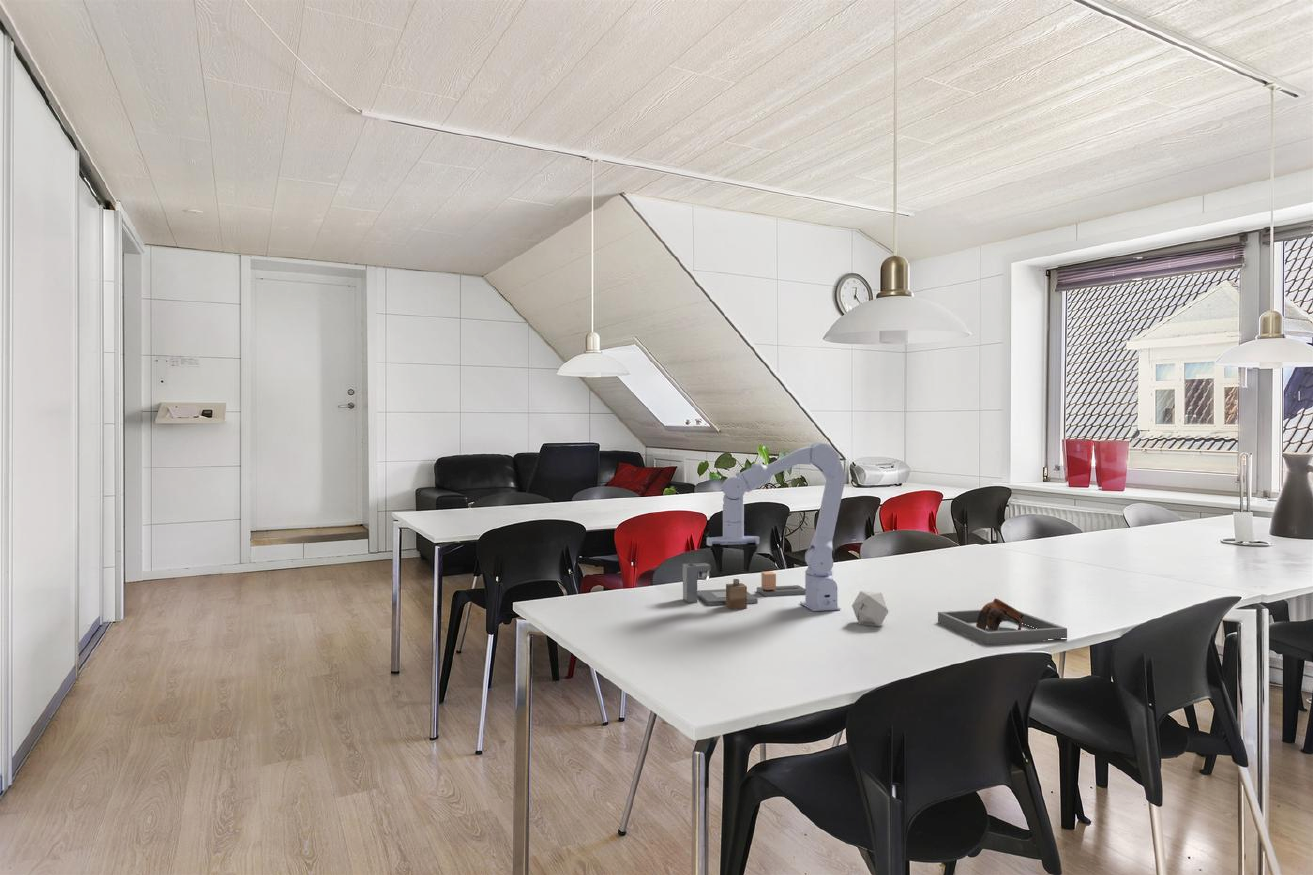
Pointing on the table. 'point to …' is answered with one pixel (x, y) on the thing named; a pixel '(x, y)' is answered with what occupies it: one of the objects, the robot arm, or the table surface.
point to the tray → (1042, 632)
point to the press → (706, 595)
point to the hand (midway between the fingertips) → (733, 571)
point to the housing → (736, 595)
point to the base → (782, 591)
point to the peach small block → (768, 580)
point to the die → (870, 608)
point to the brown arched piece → (997, 615)
